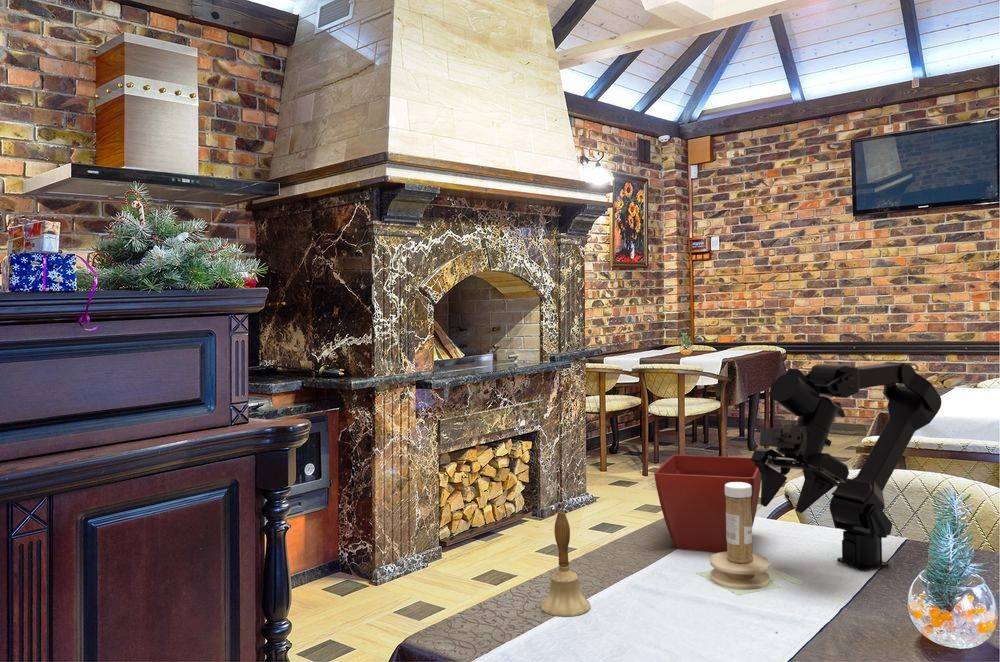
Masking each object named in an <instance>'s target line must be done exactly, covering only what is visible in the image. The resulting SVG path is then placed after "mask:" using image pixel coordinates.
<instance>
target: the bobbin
mask: <svg viewBox="0 0 1000 662" xmlns="http://www.w3.org/2000/svg"><path fill="white" fill-rule="evenodd" d="M752 556H753V560H752V561H751V562H749V563H734V562H731V561H729V560H728V559H727V551H726V552H720V553H716V552H715V553H714V554H711V556H710V558H709V561H710V562H709V564H710V566H711V567H712V568H713V569H710V570H711V572H710V578H711V580H712V581H713V582H714V583H713V582H712V581H711V582H712V583H713V584H715V583H716V585H717V584H718V585H717V586H719V585H721V586H724V587H727V588H733V589H744V590H749V589H759V588H763V587H765V586H767V585H768V584H769V583H770V576H769V574H768V573H766V572H765V571H767V570H768V569H769V567H771V565H770V564H771V563H770V560H769V558H767V557H766V556H764V555H761V554H758V553H754V552H752ZM721 586H720V587H721Z"/></svg>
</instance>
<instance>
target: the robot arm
mask: <svg viewBox="0 0 1000 662" xmlns="http://www.w3.org/2000/svg"><path fill="white" fill-rule="evenodd" d="M897 384H903V385H897ZM880 386H883V395H884V397H885V398H886V399H887V401H888V402H887V406H886V407H887V412H888V416H889V417H888V420H887V422H886V423H885V426H884V427H883V430H882V431H881V433H880V435H879V436H878V438H877V440H876V442H875V444H874V445H873V447H872V449H871V451H870V452H869V454H868V456H867V458H866V459H865V461H864V463H863V465H862V466H861V468H860V470H859V472H858V474H857V475H856V476H855V477H854V478H848V477H849V475H850V471H849V467H848V465H847V464H845V463H844V462H843V461H841V460H840V459H838V458H836V457H834V456H833V455H831V454H829V453H826V452H825V453H823V451H824V447H831V444H832V440H830V439H829V438H828V437H829V434H830V432H831V430H832V427H833V424H834V421H835V419H836V418H841V419H842V418H845V416H846V414H845V411H844V409H843V408H842V407H843V406H842V404H841V402H839V401H833V400H831V398H832V397H833V398H834V397H835V398H842V399H843V398H844V399H847V398H849V397H852V396H855V395H857V394H858V393H859V392H860V390H862V389H866V388H874V387H880ZM769 394H770V397H771V399H772V400H773V401H774V402H776V403H777V404H778V405H780V406H781V407H783V408H784V409H785V411H788V412H789V413H790V414H792V416H795V417H797V420H796V422H795V424H789V423H788V424H784V426H783V427H782V428H775V427H772V428H771V427H760V431H759V432H760V433H759V442H758V446H760V447H773V448H776V449H775V450H774V449H772V448H757V449H755V450H754V451H753V452H752V453H753V454H752V456H751V457H750V458H751V460H752V461H753V462H754V464H755V466H756V467H758V469H759V471H760V473H761V486H760V505H761V506H763V507H768V506H769V504H770V503H771V502H772V500H773V499H774V498H775V497H776V495H777V493H779V491H780V490H781V488H782V487H783V486H784V484H785V483H786V481H787V480H788V477H787V476H786V475H788V474H789V473H790V472H791V469H793V470H802V474H803V477H804V481H803V484H802V487H801V490H800V492H799V497H798V500H797V503H796V509H795V511H796V512H797V513H799V514H803V513H804V512H805V511H806V510H808V509H809V508H810V507H812V506H813V504H814V503H816V502H817V501H818V500H819V499H820V498H822V497H823V496H824V495H826V494H827V493H828V492H829V491H831V490H832V489H833V488H835V487H836V488H835V490H834V491H833V492H832V493H831V496H832V497H831V500H830V502H829V511H830V514H831V518H832V521H833V525H834V528H835V529H840V530H842V537H843V538H842V539H841V554H842V555H841V557H837V558H836V560H837V562H839V563H842V564H844V565H846V566H849V567H851V568H855V569H857V570H859V571H862V572H863V571H864V572H865V571H869V570H876V569H882V568H886V567H887V568H888V567H889V566H890V563H889V562H887V561H884V560H883V547H882V546H883V541H882V539H885V538H888V536H889V535H891V533H892V527H893V522H892V521H891V520H890V519H889V517H888V516H887V514H886V513H885V512H884V509H885V507H886V504H885V498H884V492H883V491H884V489H885V487H886V486H887V484H888V482H889V479H890V478H891V476H892V475H893V473H894V470H895V469H896V467H897V465H898V463H899V461H900V460H901V458H902V455H903V454H904V452H905V450H906V449H907V447H908V445H909V443H910V442H911V440H912V438H913V436H914V434H915V433H916V431H918V430H920V429H922V428H923V427H926V426H927V425H929V424H930V423H931V422H932V421H933V420H934V418H935V417H936V415H938V413H939V411H940V409H941V406H942V398H941V395H940V394H939V393H938V390H937V389H936V388H935V387H934V385H933V383H932V382H930V381H929V380H928V379H926V378H924V377H923V376H922V375H920V374H919V373H917V372H916V371H915V369H914V368H913V367H912V365H911V364H908V363H907V362H899V361H898V362H895V361H886V362H883V363H878V364H869V365H861V366H850V365H839V364H838V365H836V364H823V363H822V364H821V363H817V364H814V365H813V366H812V367H811V370H810V371H809V372H807V373H805V374H804V373H803V371H802V370H800V369H799V368H796V367H795V368H792V367H789V368H787V371H786V373H783V374H782V375H780V376H778V377H777V378H776V379H775V380H774V382H771V385H770V387H769ZM829 397H831V398H829ZM782 454H783V455H782Z"/></svg>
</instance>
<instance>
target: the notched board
mask: <svg viewBox="0 0 1000 662" xmlns="http://www.w3.org/2000/svg"><path fill="white" fill-rule="evenodd" d="M711 570H712V569H709V570H705V571H698V572H695V574H697V575H699V576H700V577H701V578H704V579H706V580H707V581H710V582H712V583H713V584H716V583H714V582H713V581H712V580H711V578H710V572H711ZM765 572H766V573H768V574H769V576H770V583H769V584H768V585H767V586H765V587H763V588H759V589H749V590H744V589H733V588H727V587H724V586H721V585H718V584H716V585H717V586H719V587H721V588H723V589H725V590H727V591H729V592H731V593H732V594H735V595H736V596H743V595H748V594H753V593H757V592H763V591H769V590H773V589H779V588H782V586H781V585H779V584H777V583H776V582H775V581H778V580H786V581H788V582H789V583H792V584H794V585H801V584H803V583H804V584H805V583H806V581H804V580H800V579H799V578H797V577H794V576H792V575H789V574H788V573H785V572H783V571H782V570H781V571H780V570H778V569H776V568H774V567H771V566H770V567H769V569H768V570H767V571H765ZM773 581H774V582H775V583H774V582H773Z"/></svg>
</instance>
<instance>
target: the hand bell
mask: <svg viewBox="0 0 1000 662" xmlns="http://www.w3.org/2000/svg"><path fill="white" fill-rule="evenodd" d="M553 529H554V530H553V531H554V539H555V542H556V545H557V551H558V571H556V572H553V573H552V574H551V576H550V586H549V591H548V594H547V595H546V597H545V598H544V599H543V600H542V602H541V604H540V609H541V611H542V612H543V613H545V614H548V615H551V616H552V617H560V616H561V617H562V618H563V617H564V618H567V617H568V618H569V617H577V616H580V615H584V614H586V613H587V612H589V611H590V610H591V603H590V601H589V600H588V599H587V598H586V597H585V596H584V594H583V592H582V589H581V587H580V582H579V577H578V574H577V573H576V572H574V571H571V570H570V563H569V553H568V551H569V544H570V540H571V527H570V524H569V520H568V518H567V515H566V512H565V511H562V510H561V511H557V514H556V518H555V522H554V528H553Z"/></svg>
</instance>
